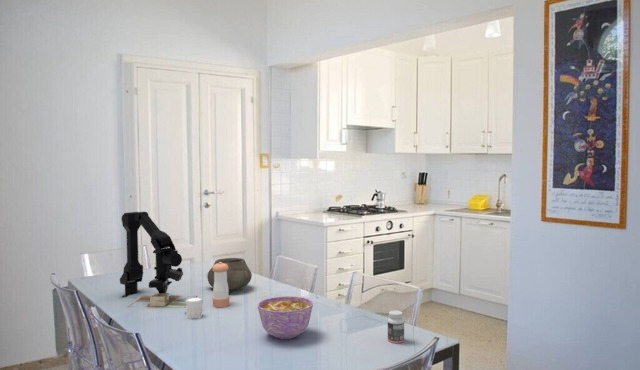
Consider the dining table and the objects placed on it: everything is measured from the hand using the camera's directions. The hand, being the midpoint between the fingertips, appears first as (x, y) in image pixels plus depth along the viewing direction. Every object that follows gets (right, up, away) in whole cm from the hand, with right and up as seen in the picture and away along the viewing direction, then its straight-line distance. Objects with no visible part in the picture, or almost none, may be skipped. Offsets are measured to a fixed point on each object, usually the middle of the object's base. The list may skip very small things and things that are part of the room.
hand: (163, 298), depth 227 cm
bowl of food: (+57, -4, -42) cm, 71 cm away
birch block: (0, -1, -5) cm, 5 cm away
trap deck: (0, -3, 0) cm, 3 cm away
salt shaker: (+26, -3, -2) cm, 26 cm away
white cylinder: (+18, -3, -18) cm, 26 cm away
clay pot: (+25, -1, +24) cm, 35 cm away
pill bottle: (+96, -4, -49) cm, 108 cm away
